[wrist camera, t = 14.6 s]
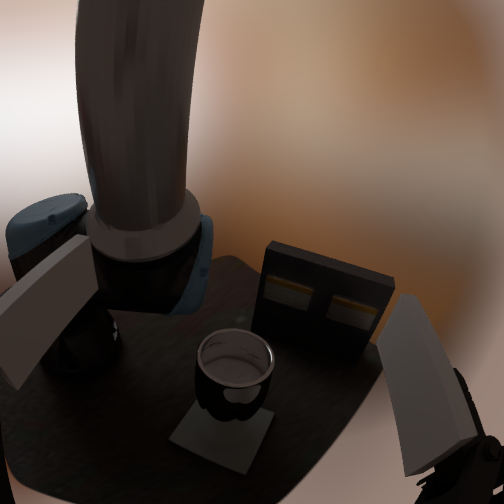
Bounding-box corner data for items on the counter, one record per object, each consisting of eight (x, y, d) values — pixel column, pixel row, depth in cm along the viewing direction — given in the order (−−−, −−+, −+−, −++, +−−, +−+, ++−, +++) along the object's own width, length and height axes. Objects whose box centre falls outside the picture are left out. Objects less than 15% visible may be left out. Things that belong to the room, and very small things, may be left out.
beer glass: (205, 399, 32) (208, 319, 25) (257, 412, 31) (281, 336, 24) (189, 442, 26) (181, 374, 19) (246, 457, 25) (271, 397, 18)
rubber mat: (168, 440, 26) (168, 438, 26) (206, 387, 35) (206, 385, 34) (245, 475, 23) (245, 474, 23) (273, 414, 32) (274, 412, 32)
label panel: (249, 332, 46) (264, 249, 38) (261, 312, 51) (277, 234, 43) (354, 367, 41) (395, 289, 33) (357, 343, 46) (392, 269, 38)
